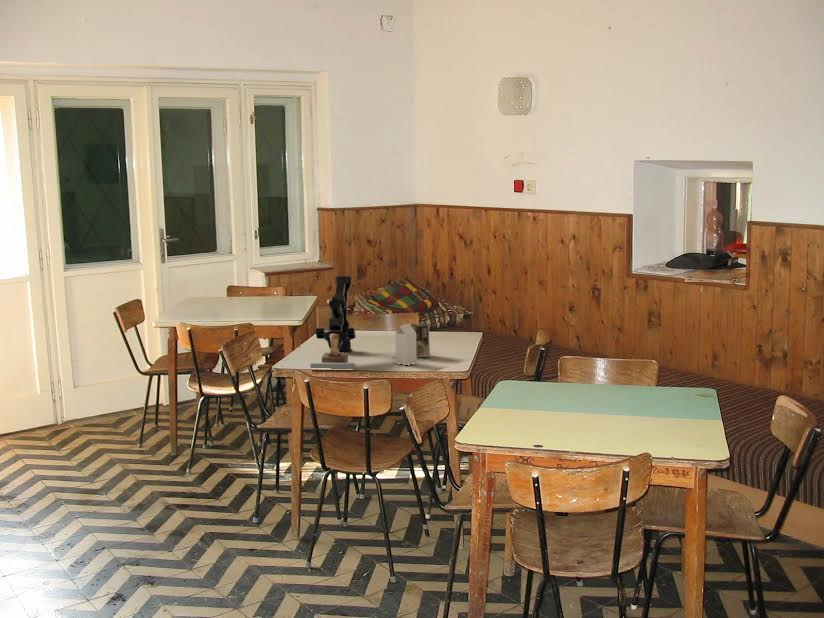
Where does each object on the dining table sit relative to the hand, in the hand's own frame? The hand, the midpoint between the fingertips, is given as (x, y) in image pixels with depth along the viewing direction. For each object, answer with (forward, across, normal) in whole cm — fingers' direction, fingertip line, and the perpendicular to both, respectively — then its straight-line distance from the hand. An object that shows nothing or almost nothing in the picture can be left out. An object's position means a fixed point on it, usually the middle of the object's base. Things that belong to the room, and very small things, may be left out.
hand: (334, 348), depth 452 cm
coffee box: (-8, +40, +20) cm, 45 cm away
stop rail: (+12, 0, 0) cm, 12 cm away
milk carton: (+3, +34, +10) cm, 35 cm away
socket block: (+5, 0, +7) cm, 9 cm away
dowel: (+4, 0, +6) cm, 7 cm away
